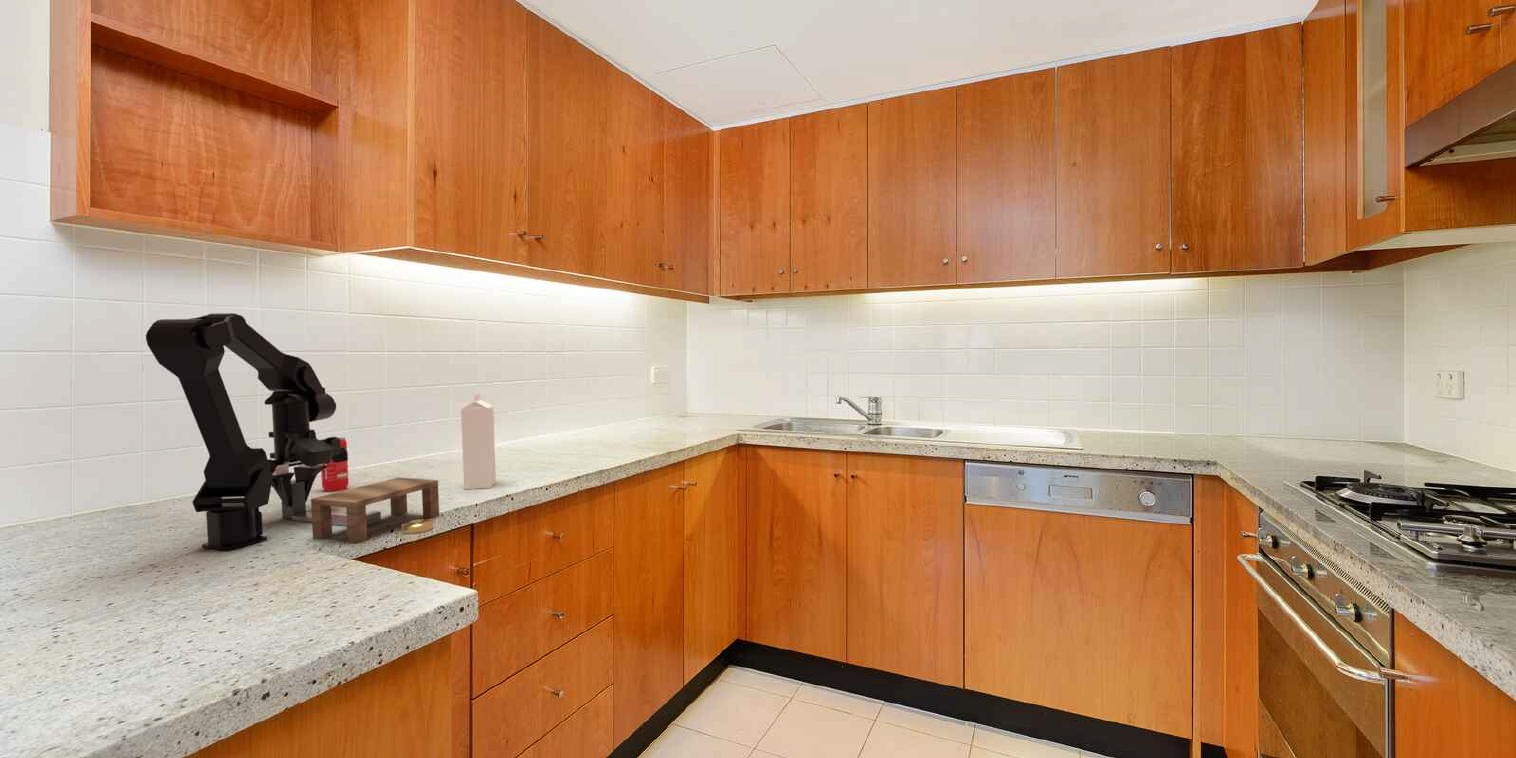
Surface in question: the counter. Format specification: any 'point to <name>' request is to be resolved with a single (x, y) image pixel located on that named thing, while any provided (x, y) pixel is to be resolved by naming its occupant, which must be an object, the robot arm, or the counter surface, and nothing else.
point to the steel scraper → (300, 514)
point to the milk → (478, 445)
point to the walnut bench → (367, 495)
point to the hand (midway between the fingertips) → (295, 504)
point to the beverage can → (335, 474)
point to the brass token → (417, 526)
